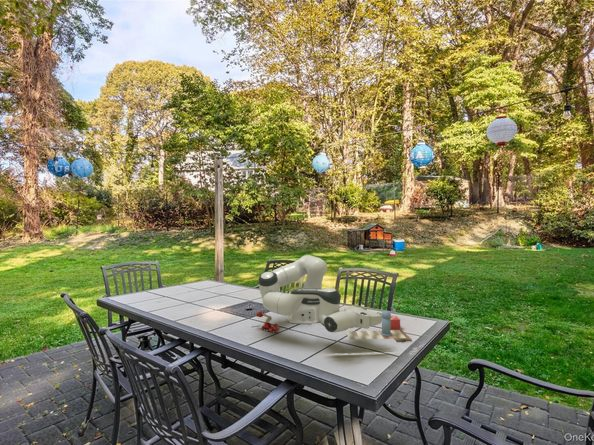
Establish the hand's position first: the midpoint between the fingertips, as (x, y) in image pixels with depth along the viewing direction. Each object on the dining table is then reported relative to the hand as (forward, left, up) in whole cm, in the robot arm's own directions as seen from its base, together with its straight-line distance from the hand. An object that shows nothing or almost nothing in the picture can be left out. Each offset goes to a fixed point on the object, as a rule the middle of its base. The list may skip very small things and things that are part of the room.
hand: (372, 311), depth 169 cm
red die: (+18, +20, -16) cm, 31 cm away
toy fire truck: (-53, +22, -17) cm, 60 cm away
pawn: (+10, +8, -15) cm, 19 cm away
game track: (+4, +8, -16) cm, 18 cm away
